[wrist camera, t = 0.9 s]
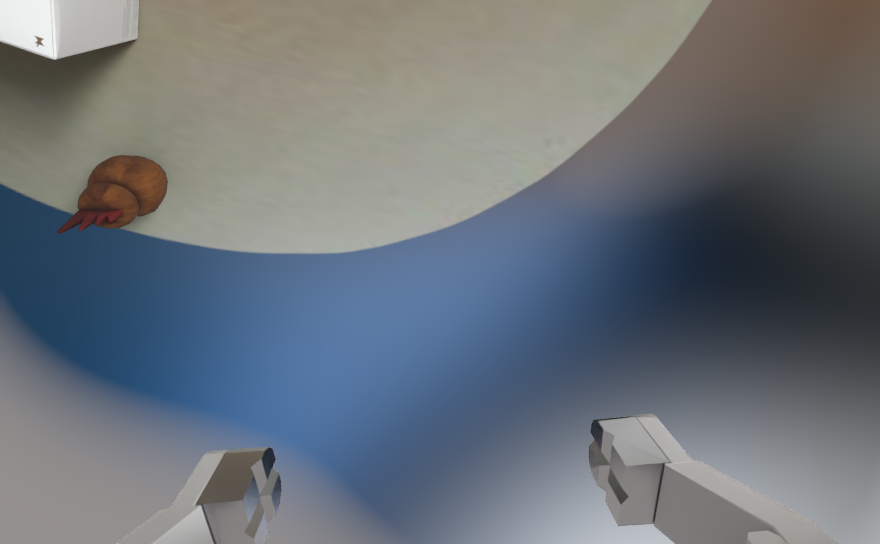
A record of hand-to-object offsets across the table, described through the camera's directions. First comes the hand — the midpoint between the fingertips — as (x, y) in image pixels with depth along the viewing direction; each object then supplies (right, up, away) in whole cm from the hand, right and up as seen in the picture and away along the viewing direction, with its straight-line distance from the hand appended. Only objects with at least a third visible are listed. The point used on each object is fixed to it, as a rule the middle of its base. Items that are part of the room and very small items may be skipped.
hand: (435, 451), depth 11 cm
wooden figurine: (-37, +17, +41) cm, 58 cm away
